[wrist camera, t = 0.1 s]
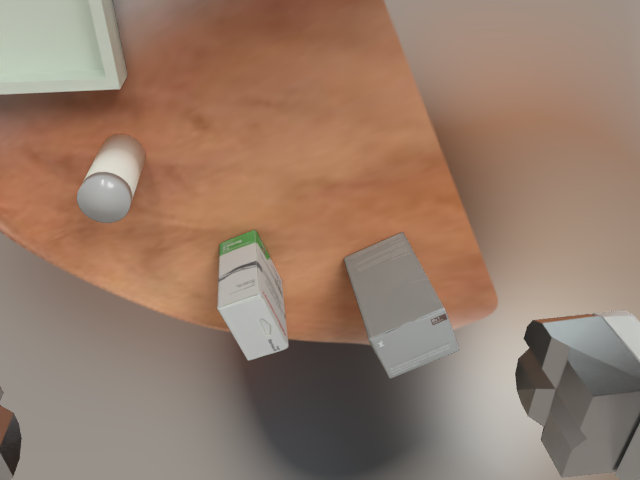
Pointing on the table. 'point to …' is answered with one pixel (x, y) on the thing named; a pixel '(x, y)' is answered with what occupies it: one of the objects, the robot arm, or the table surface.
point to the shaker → (112, 179)
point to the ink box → (251, 296)
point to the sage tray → (59, 46)
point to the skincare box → (399, 306)
